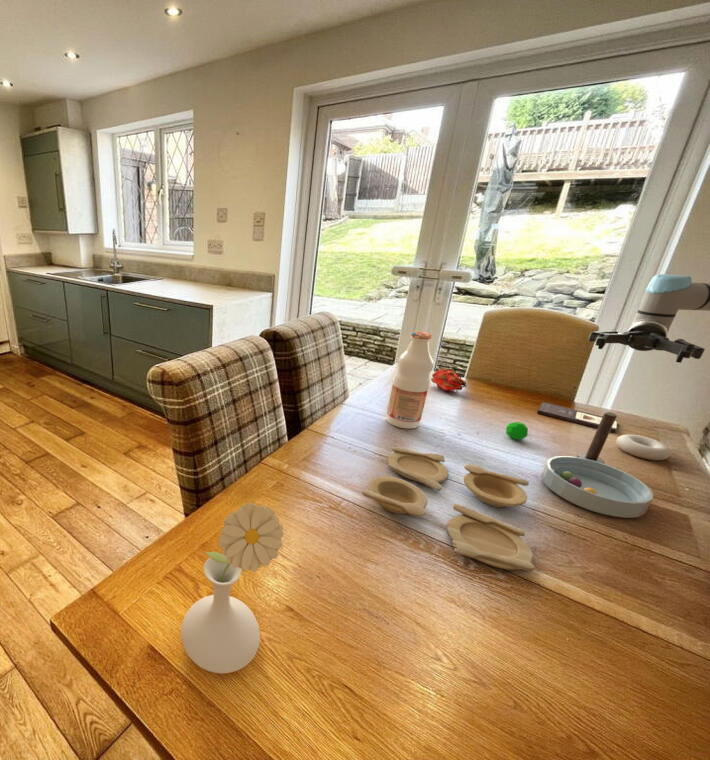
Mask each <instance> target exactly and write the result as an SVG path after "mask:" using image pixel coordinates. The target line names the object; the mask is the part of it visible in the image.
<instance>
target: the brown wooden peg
mask: <svg viewBox="0 0 710 760" xmlns="http://www.w3.org/2000/svg"><path fill="white" fill-rule="evenodd" d="M602 416H603V417H602V420H601V422H600V424H599V426H598V428H596V431H595V432H594V433H595V434H594V435H593V438H592V441H591V442H590V445H589V447H588V449H587V451H586V452H579V453H578V454H577V456H576V457H580V458H585V459H589V460H593V461H597V462H600V463H603V464H606V463H605V460H604V459H603V458H602V457H600V454H601V452H602V450H603V448H604V446H605V443H606V441H607V439H608V437H609V434H610V433H611V432H610V430H611V428H612V426H613V424H614V421H615V420H617V417H618V415H617V414H616V413H613V412H609V411H605V412H604V413H603V415H602Z"/></svg>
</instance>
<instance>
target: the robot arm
mask: <svg viewBox="0 0 710 760" xmlns="http://www.w3.org/2000/svg"><path fill="white" fill-rule="evenodd" d="M692 281H693V278H692V276H690V275H682V274H666V273H659V274H656V275H654V276H653V277H652V278H651V280H650V282H649V283H648V285H647V287H646V288H645V291H644V295H643V297H642V300H641V302H640V306H639V308H638V310H637V312H636V313H635V316H634V318H633V321H632V323H631V325H630V327H629V329H628V330H627V331H624V332H622V333H621V332H619V330H617V329H616V328H612V329H610V330H609V329H608V330H597V331H591V332H590V334H589V336H588V338H587V342H595V344H594V346H597V349H598V350H603V348H604V347H605V346H606V344H620V345H622V346H623V345H624V346H628V347H629V348H631V349H633V350H635V351H640V352H648V351H649V352H650V351H654V350H655V351H662V352H663V351H664V352H667V353H671V354H674V355H676V359H675V362H676V363H679V364H682V361H683V359H691V358H692V359H696V360H700V359H701V358H702V356H703V354H704V352H705V350H706V349H705V348H704V347H701V346H698V345H696V344H693V343H691V342H688V341H686V340H685V339H683V338H677V339H674V340H670V338H669V337H667V336H668V333H669V330H670V328H671V326H672V323H673V322H674V319H675V317H676V316H677V313H678V312H679V311H687V310H688V311H703V312H704V311H708V312H710V282H692Z"/></svg>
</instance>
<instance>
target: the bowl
mask: <svg viewBox="0 0 710 760" xmlns="http://www.w3.org/2000/svg"><path fill="white" fill-rule="evenodd" d="M564 471H569V472H571V473H572V474H573V475H574V478H577V479H579V480H580V481H581V482H582V486H581V487H580V488H579V487H577V486H575V485H573V484H571V483H569V482H567V481H566V480H564V479H563V478H561V477H560V474H561V473H562V472H564ZM541 479H542V482H543V483H544V484H545V486H547V488H548V489H549V490H550V491H552V492H554V493H555V494H556V495H558V496H559V497H561V498H562V499H564V500H566V501H567V502H569V503H571V504H573V505H576V506H578V507H581V508H582V509H585V510H588V511H590V512H594V513H598V514H601V515H605V516H611V517H619V518H625V519H627V518H629V519H630V518H631V519H632V518H639V517H641V516H643V515H645V514H646V513H647V511H648V509H649V507H650V505H651V504H652V502H653V500H654V493H653V491H652V490H651V488H650V487H649V486H648V485H647V484H646V483H644V482H643V481H641V480H640V479H639V478H638V477H635V476H633V475H632V474H630V473H629V472H626V471H624V470H622V469H619V468H616V467H614V466H612V465H609V464H606V463H604V464H603V463H600V462H597V461H593V460H589V459H585V458H580V457H577V456H572V455H571V456H570V455H555V456H552V457H549V458H548V459H547V461H546V463H545V465H544V467H543V470H542V473H541ZM584 488H592V489H594V490H595V491H596V492H597V494H594V493H592V492H589V491H586V490H583V489H584Z"/></svg>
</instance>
